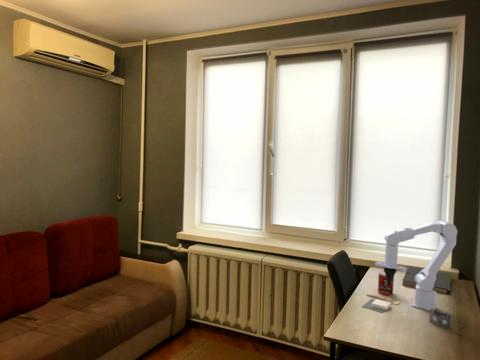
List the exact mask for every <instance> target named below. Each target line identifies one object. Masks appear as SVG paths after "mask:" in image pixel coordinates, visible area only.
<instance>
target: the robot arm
mask: <svg viewBox="0 0 480 360" xmlns="http://www.w3.org/2000/svg"><path fill="white" fill-rule="evenodd" d="M432 232H433V233H438V234H439V235H440V237H441V239H442V242H441V243H440V246H439V247H438V248H437V250H436V251H435V252H434V254H433V255H432V258H431V259H430V260H429V262H428V264H427V265H426V266H425V268H422V269H423V270H421V272H420V273H418V274H417V275H416V276H415V282H416V283H417V285H416V288H415V293H414V302H413V303H412V305H411V306H412V307H415V308H418V309H421V310H425V311H429V312H430V309H434V310H436V308H437V301H438V300H437V299H438V297H437V296H438V292H435V291H433V290H432V289H433V287H434V282H435V281H436V274H437V272H438V271H439V272H440V269H441V267H442V266H443V265H444V263H445V262H446V260H447V259H448V257H450V254H451V253H452V251H453V249H454V248H455V246H456V245H457V234H458V233H459V232H458V230H457V227H456V225H455V224H454V223H451V222H448V221H446V220H444V219H440V220H438V221H437V220H436V221H433V222H429V223H427V224H424V225H421V226H418V227H415V228H412V227H407V226H406V227H403V228H402V229H398V230H394V231H388V232H387V233H386V234H385V236H384V240H385V250H384V251H385V254H384V262H380V261H376V262H374V263H375V267H379V268H383V271H384V272H385V274H386V277H387V282H388V283H389V284H391V283H392V279H393V277H394V278H395V274H396V273H397V272H398V271H399V272H403V273H406V272H407V270H408V268H407V267H405V266H401V265H398V255H399V253H398V252H399V251H398V250H399V245H400V243H402V242H403V243H404V242H406V241H409V240H413V239H415V237H416V236H419V235H424V234H427V233H432Z"/></svg>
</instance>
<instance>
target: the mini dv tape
mask: <svg viewBox="0 0 480 360" xmlns="http://www.w3.org/2000/svg"><path fill="white" fill-rule="evenodd" d="M452 317H453V316H452V314H451V313H447V312H443V311H440V310H437V309H430V311H429V323H432V324H435V325H437V326H440V327H444V328H446V329H451V328H452V327H451V326H452Z"/></svg>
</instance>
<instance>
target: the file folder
mask: <svg viewBox="0 0 480 360" xmlns="http://www.w3.org/2000/svg"><path fill="white" fill-rule="evenodd" d="M423 269H424V268H421V267H414V266H408V268H407V269H406V272H404V276H403V278H402V285H401V286H402V287H408V288H412V287H413V288H412V289H416V285H417V283H416V282H415V276H416V275H417V274H418V273H420V272H421V270H423ZM451 279H452V275H451V273H448V272H444V271H440V270H439V271H438V272H437V274H436V281H435V282H434V287H433V289H432V290H433V291H435V292H437V293H438V294H439V293H440V294H445V295H449V294H450V291H451Z"/></svg>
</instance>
